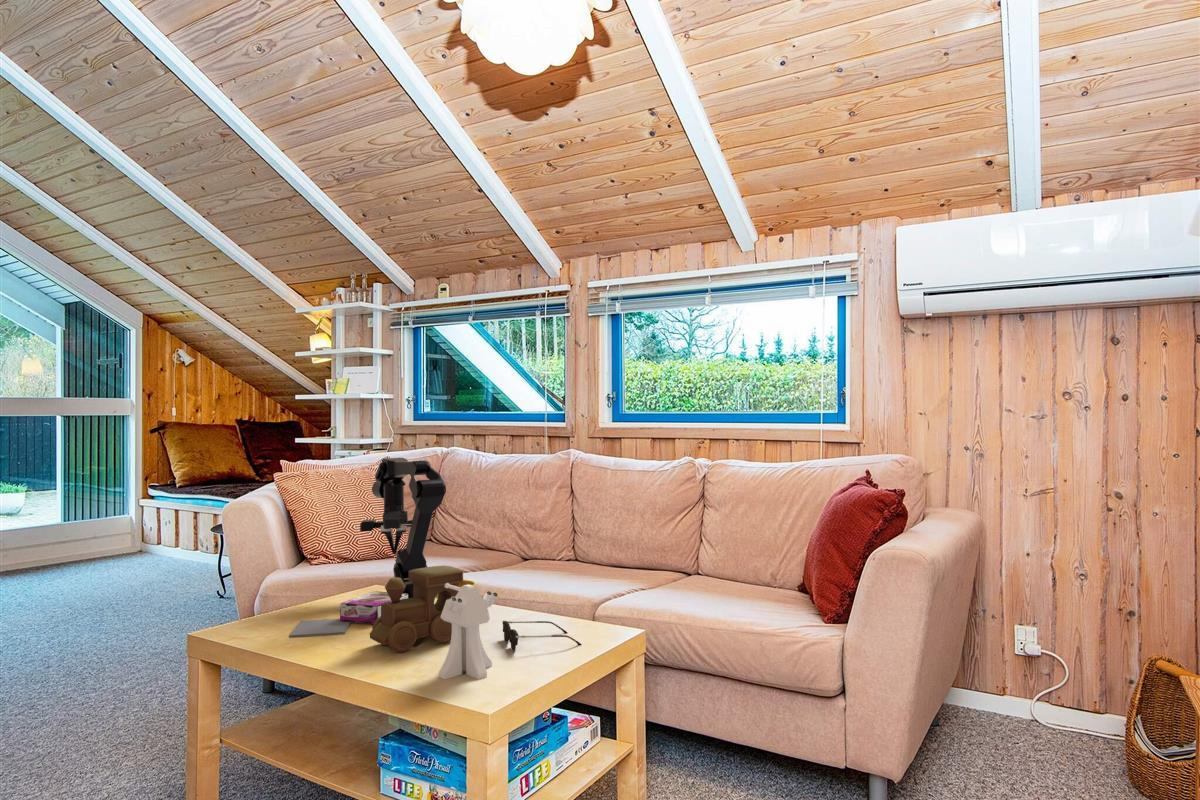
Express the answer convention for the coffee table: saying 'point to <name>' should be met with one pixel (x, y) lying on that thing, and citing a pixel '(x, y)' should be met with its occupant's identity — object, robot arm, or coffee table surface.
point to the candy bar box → (365, 607)
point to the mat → (320, 628)
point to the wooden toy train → (417, 608)
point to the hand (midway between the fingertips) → (394, 553)
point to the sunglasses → (512, 635)
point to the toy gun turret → (466, 632)
